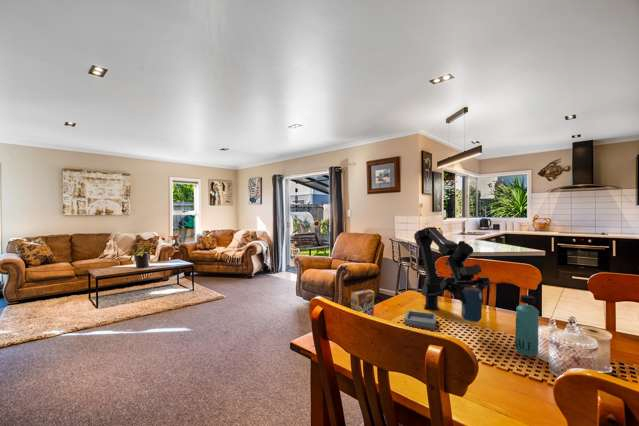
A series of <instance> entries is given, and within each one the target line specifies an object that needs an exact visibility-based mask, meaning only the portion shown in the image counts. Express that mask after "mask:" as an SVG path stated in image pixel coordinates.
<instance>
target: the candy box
mask: <svg viewBox="0 0 639 426" xmlns="http://www.w3.org/2000/svg"><path fill="white" fill-rule="evenodd" d="M351 309H353V310H356V311H363V313H365V314H368V315H371V316H374V314H375V311H374V309H375V291H374V290H371V289H362V290H358V291H357V290H356V291H351V297H350V310H351Z"/></svg>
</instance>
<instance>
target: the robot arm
mask: <svg viewBox="0 0 639 426" xmlns="http://www.w3.org/2000/svg"><path fill="white" fill-rule="evenodd" d="M413 238H414V240H415V244H416V245H417V246H418V247H419V249H420V251H421V252H420V253H421V257H422V261H423V267H424V272H425V278H424V280H423V287H422V288H421V290H420V293H421V295H422V296H424V297H425V298H424V299H425V302H424V303H425V304H424V309H425V310H430V311H439V308H440V307H439V297H441V298H442V297H443V295H444V291H447V292H448V293H451V294H452V295H453V296H454V297H456V298H457V300H459V301H460V302H461V304H462V303H463V304H466V301H465V298H464V296H463V293H462V291H463V290H462V289H461V287H467V286H470V287H477V288H479V289H481V290H480V291H481V293H482V304H484V296H483V295H484V290H485V289H486V288H488V287H489V286H490V284H491V283H492V282H491V279H490V278H489V277H487V276H478V275H479V274H481V273H482V268H481V266H480V265H479V264H474V265H473V264H472V265H466V266H465V262H467V261H468V259H469V258H470V257H471V256H472V254H473V253H474V247H473V246H472V245H470V244H468V243H466V241H464V240H459V242H458V243H457V242H455V241H452V240H449V239H447V237H445V236H444V235H443V234H442V233H441V232H440V231H439V230H438V229H437V227H435V226H426V227H425V228H423V229H420V230H417V231H416V232H415V233H414V235H413ZM432 243H434V244H436V245H437V247H438V248H437V249H438V252H439V254H440V255H441V256H443V257H447V258H446V261H445V265H446V266H449V268H450V271H451V273H450V276H451V277H450V276H448V277H444V278H442V277H441V276H439V275H437V270H436V266H435V260H434V256H433V253H432V246H431V245H432ZM476 275H477V278H476V279H475V280H473V279H474V278H475V276H476Z"/></svg>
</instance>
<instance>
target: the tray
mask: <svg viewBox="0 0 639 426" xmlns="http://www.w3.org/2000/svg"><path fill="white" fill-rule="evenodd" d="M436 315H437V314H436V313H431V312H424V311H416V310H415V311H414V310H408V309H407V310H406V314H405V316H404V320H403V321H404V324H403V325H404V326H408V327H415V328H422V329H428V330H434V331H435V330H436V326H437V325H436V321H437V320H436Z"/></svg>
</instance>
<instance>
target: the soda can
mask: <svg viewBox="0 0 639 426" xmlns="http://www.w3.org/2000/svg"><path fill="white" fill-rule="evenodd" d="M480 290H481V289H479V288H477V287H473V286H463V289H462V290H461V291H462V293H463V296H464V298H465V301H466V304H463V303H462V302H461V313H460V314H461V317H462V319H463V320H465V321H467V322H472V323H478V322H480V321H481V320H482V313H483V312H482V311H483V303H482V293H481V291H480Z"/></svg>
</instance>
